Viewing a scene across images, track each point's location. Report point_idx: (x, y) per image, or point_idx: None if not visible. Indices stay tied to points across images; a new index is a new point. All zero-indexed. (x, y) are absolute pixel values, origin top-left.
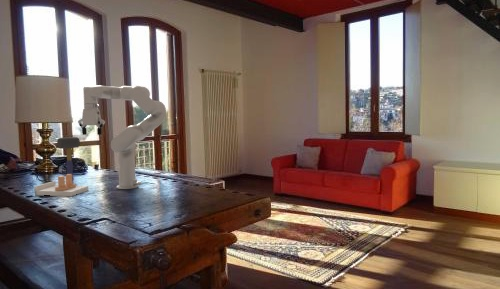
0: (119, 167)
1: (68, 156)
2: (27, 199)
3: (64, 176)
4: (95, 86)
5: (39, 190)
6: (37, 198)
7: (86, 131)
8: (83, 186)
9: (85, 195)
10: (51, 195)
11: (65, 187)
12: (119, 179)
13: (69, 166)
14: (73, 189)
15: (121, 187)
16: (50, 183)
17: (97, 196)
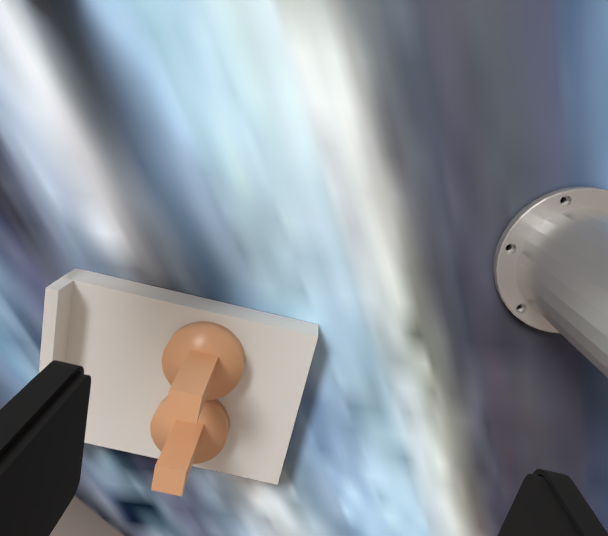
0: (598, 368)
1: None
2: (84, 501)
3: (186, 471)
4: None
5: None
6: (122, 488)
7: (43, 424)
8: (290, 345)
9: (348, 455)
10: None
11: (220, 450)
12: (543, 314)
13: None
14: (263, 427)
15: (538, 329)
16: (57, 335)
17: (422, 485)
